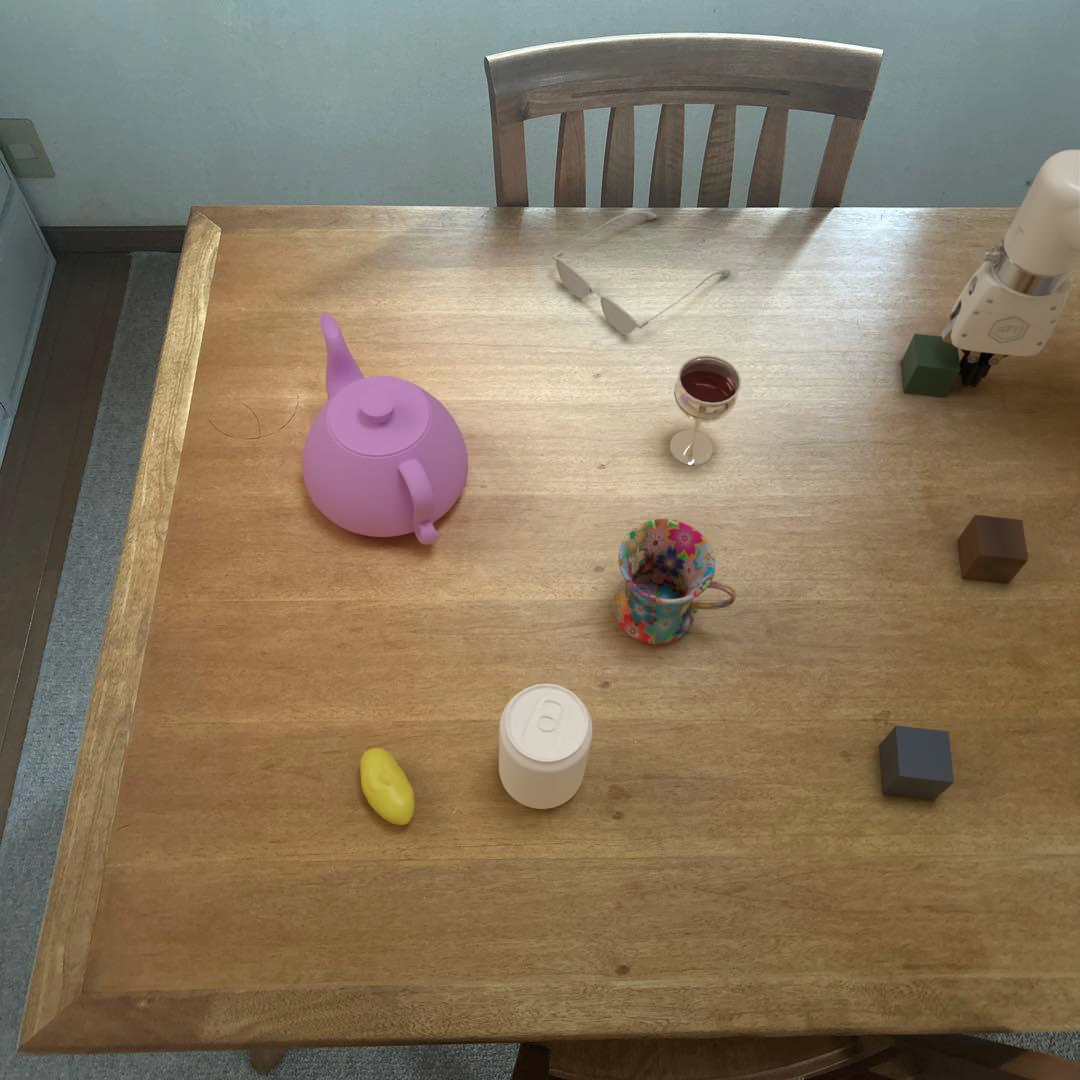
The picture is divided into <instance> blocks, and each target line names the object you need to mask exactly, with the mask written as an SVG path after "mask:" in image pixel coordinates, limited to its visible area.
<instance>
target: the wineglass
mask: <svg viewBox="0 0 1080 1080" xmlns="http://www.w3.org/2000/svg"><path fill="white" fill-rule="evenodd" d="M741 387H742V378H741V376H740V372H739V371H738V370H737V368H736V367H735V366H734V364H732V363H730V362H729V361H728V360H727V359H724V358H721V357H719V356H716V355H709V354H704V355H697V356H694V357H690V358H689V359H687V360H686V361H685V362H684V363H683V364H682V365H681V366H680V367H679V370H678V375H677V380H676V381H675V384H674V391H673V395H674V399H675V403H676V405H677V407H678V408H679V410H680V412H681V413H682V414H683V415H685V416H686V417H688V419H691V420H693V421H694V426H693V429H685V430H681V431H679V432H677V433H676V434H675V435H673V436H672V438H671V439H670V441H669V449H670V453H671V454H672V456H673V457H674V459H676V460H677V461H678V462H680V463H683V464H685V465H688V466H698V465H703V464H704V463H707V462H708V461H709V460H711V457H712V455H713V454H714V446H713V442H712V441H711V440H710V438H709V436H707V435H706V434H704V433H702V432H700V431H699V430H700V428H701V425H702V423H716V422H718V421H721V420H723V419H724V418H725V417H726V416H728V415H729V414H730V413H731V412H732V411H733V410H734V407H735V406H736V404H737V402H738V398H739V392H740V390H741Z"/></svg>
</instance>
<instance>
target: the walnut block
mask: <svg viewBox="0 0 1080 1080" xmlns="http://www.w3.org/2000/svg"><path fill="white" fill-rule="evenodd" d="M957 546H958V553H959V554H958V555H959V562H960V571H961V579H963V580H972V581H980V582H981V581H983V582H991V583H1000V584H1010V583H1011V581H1013V579H1014V578H1015V577H1016V576H1017V574H1018V573H1019V572H1020V571H1021V570H1022V568H1023V567H1024V566H1025V565H1026V564H1027V563H1028V562H1029V556H1028V548H1027V543H1026V537H1025V529H1024V523H1023V519H1018V518H1008V517H1000V516H991V515H982V514H974V515H973V517H972V518H971V519H970V521H969V523H968V524H967V525H966V527H965V528H964V530H963V531H962V532H961V534H960V535H959V536H958V538H957Z"/></svg>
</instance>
